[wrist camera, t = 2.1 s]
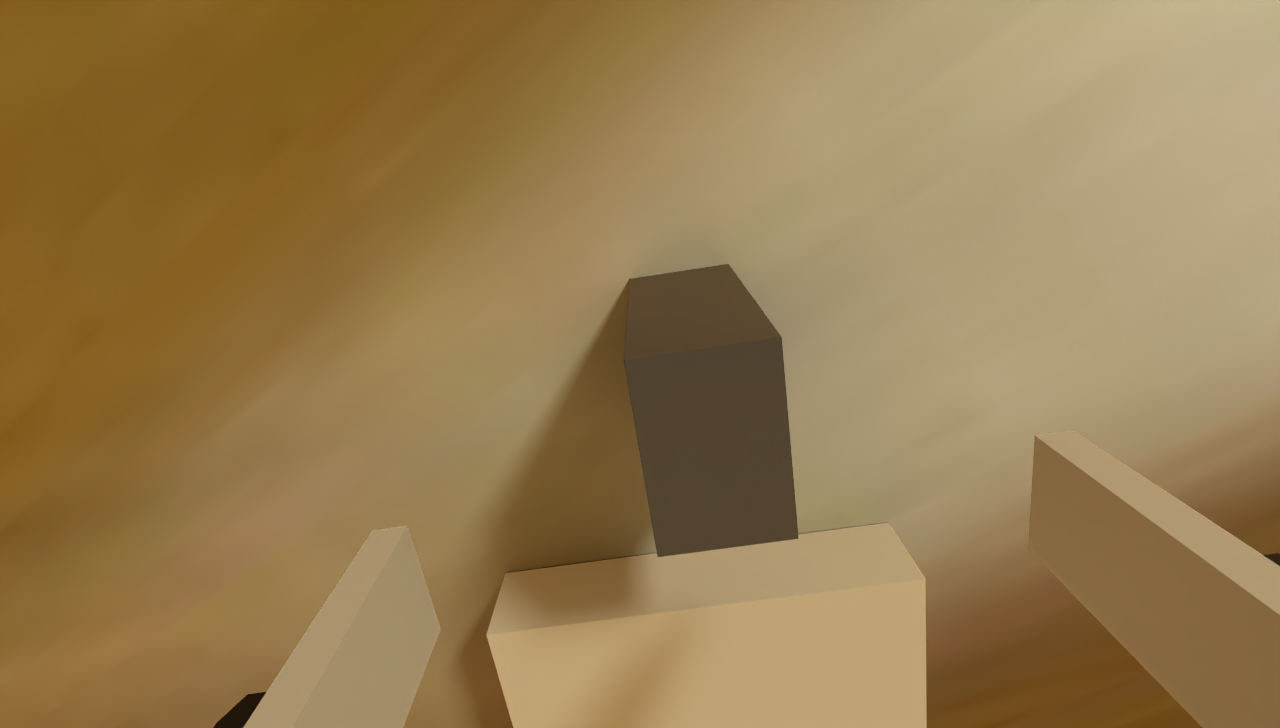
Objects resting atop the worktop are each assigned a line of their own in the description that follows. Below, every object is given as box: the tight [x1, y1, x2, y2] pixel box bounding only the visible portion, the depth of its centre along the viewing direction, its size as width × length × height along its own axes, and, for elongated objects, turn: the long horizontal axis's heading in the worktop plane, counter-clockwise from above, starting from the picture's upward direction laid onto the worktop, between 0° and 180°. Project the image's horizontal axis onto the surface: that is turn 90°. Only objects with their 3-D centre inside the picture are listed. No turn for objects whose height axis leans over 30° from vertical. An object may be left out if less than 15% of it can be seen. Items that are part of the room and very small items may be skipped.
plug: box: [624, 264, 798, 557], centre depth 22 cm, size 4×6×10 cm, turn 9°
